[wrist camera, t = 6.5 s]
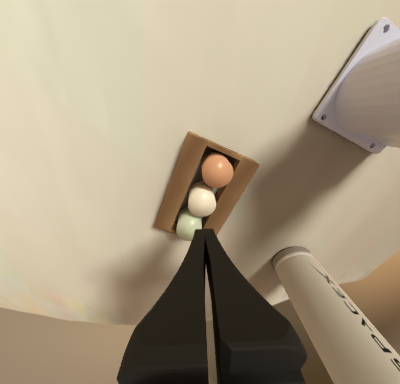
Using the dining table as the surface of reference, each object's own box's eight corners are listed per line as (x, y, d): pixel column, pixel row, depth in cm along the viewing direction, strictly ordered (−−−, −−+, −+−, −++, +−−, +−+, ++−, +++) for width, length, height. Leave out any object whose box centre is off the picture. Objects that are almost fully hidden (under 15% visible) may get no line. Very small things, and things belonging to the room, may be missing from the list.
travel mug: (282, 277, 27) (460, 602, 9) (265, 258, 24) (459, 647, 6) (316, 261, 25) (621, 622, 7) (301, 239, 23) (700, 693, 5)
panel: (253, 160, 17) (259, 164, 15) (209, 234, 22) (211, 244, 20) (188, 131, 16) (187, 132, 14) (157, 217, 20) (153, 227, 19)
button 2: (232, 158, 17) (238, 165, 14) (220, 181, 18) (224, 192, 15) (207, 147, 16) (210, 153, 13) (197, 171, 17) (197, 181, 14)
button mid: (217, 186, 18) (220, 198, 15) (207, 206, 19) (209, 220, 17) (194, 177, 17) (194, 188, 15) (185, 198, 19) (183, 211, 16)
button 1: (204, 210, 20) (206, 225, 17) (196, 227, 21) (196, 243, 18) (183, 203, 19) (181, 217, 16) (175, 220, 20) (172, 236, 17)
